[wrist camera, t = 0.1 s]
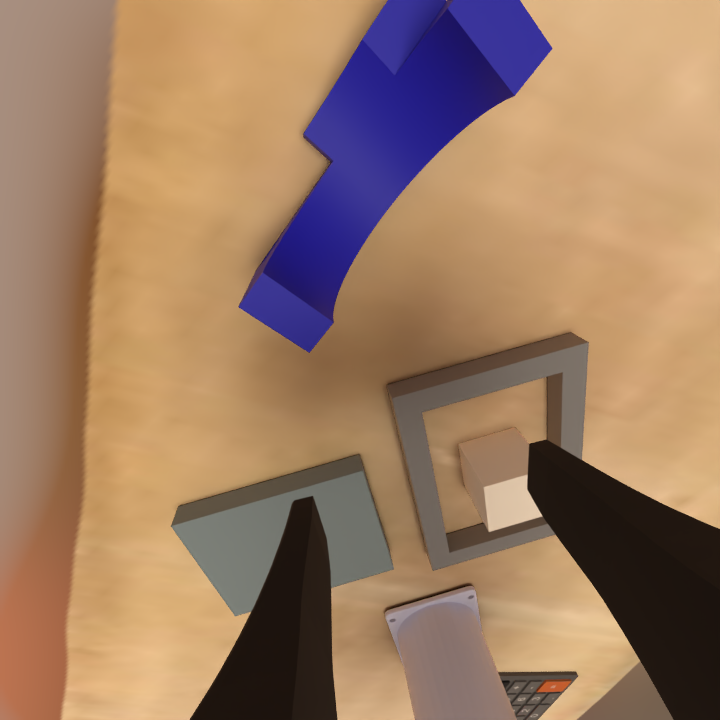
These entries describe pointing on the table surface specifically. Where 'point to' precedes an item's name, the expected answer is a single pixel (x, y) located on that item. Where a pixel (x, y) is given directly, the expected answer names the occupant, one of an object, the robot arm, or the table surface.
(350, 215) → the cable clip
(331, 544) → the slate pad
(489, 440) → the cream block
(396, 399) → the pocket frame
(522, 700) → the calculator
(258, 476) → the table surface
